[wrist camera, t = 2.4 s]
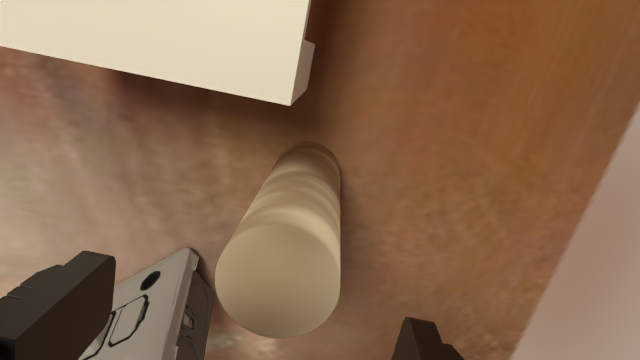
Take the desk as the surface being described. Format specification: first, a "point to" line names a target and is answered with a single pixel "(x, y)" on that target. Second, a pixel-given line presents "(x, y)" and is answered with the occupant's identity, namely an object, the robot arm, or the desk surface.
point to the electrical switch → (157, 314)
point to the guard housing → (174, 40)
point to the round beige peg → (286, 248)
